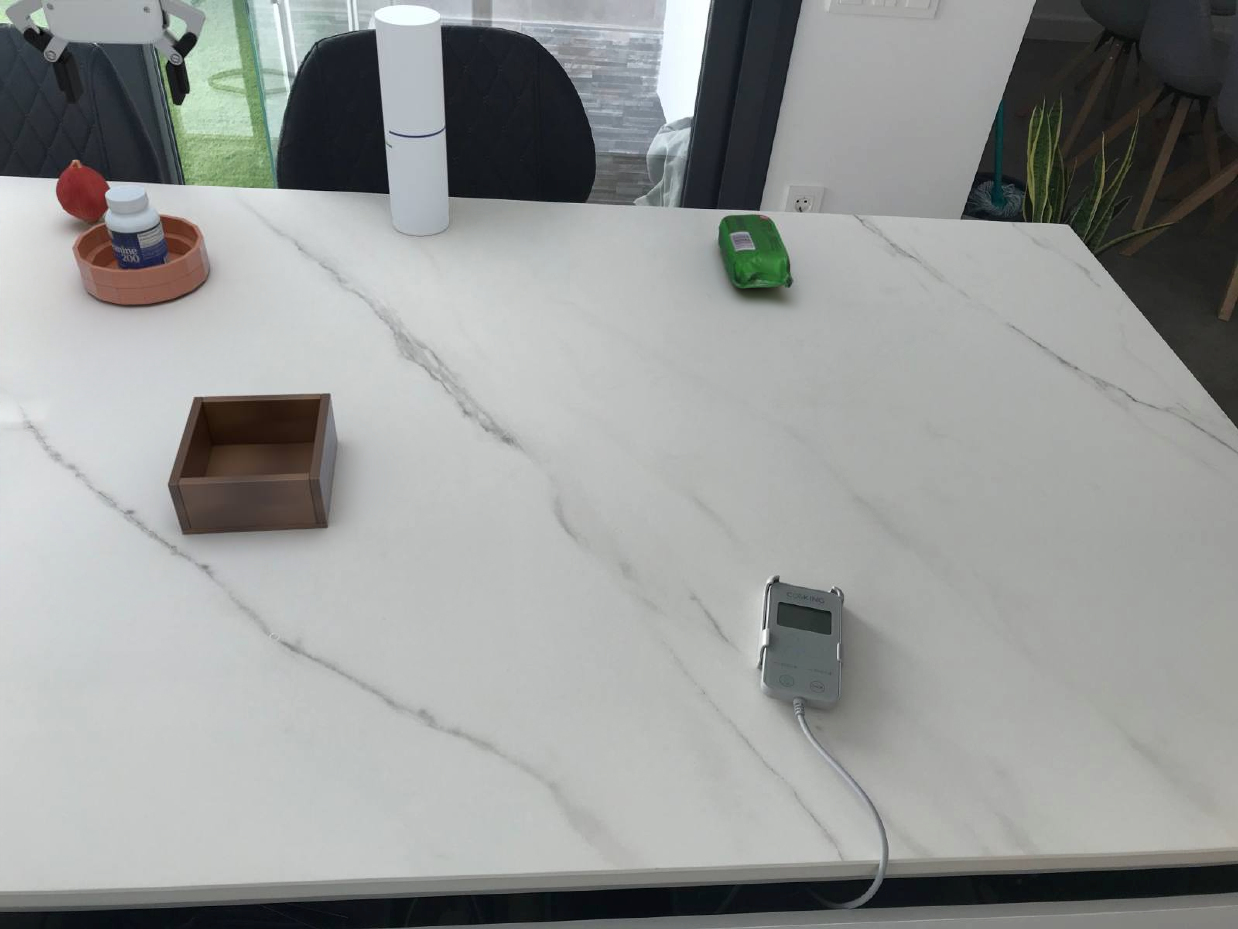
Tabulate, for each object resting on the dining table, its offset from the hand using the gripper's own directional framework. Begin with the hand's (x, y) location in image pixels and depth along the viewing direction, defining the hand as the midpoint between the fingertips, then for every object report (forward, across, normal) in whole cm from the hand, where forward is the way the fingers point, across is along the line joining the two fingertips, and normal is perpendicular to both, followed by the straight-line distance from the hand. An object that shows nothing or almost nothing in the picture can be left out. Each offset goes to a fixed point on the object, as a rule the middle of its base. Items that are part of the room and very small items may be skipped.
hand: (128, 99), depth 97 cm
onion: (+20, +11, -13) cm, 27 cm away
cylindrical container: (+20, -28, -13) cm, 36 cm away
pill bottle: (+20, +3, 0) cm, 20 cm away
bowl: (+20, +3, 0) cm, 20 cm away
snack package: (+20, -67, +1) cm, 70 cm away
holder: (+20, -14, +36) cm, 44 cm away
